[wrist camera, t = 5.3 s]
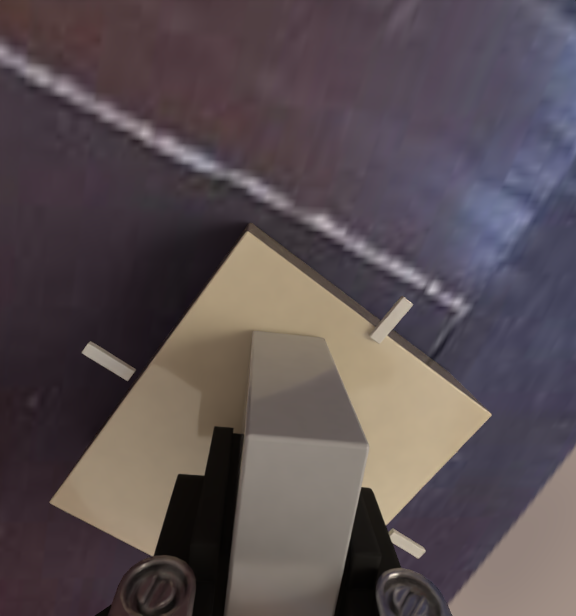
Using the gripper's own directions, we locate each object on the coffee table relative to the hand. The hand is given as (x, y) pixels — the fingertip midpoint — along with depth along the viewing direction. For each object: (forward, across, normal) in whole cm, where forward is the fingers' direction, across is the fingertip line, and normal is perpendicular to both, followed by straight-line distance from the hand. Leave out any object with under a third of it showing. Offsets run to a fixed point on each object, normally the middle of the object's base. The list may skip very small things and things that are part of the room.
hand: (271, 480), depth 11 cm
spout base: (+4, 0, 0) cm, 4 cm away
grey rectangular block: (+1, 0, 0) cm, 1 cm away
